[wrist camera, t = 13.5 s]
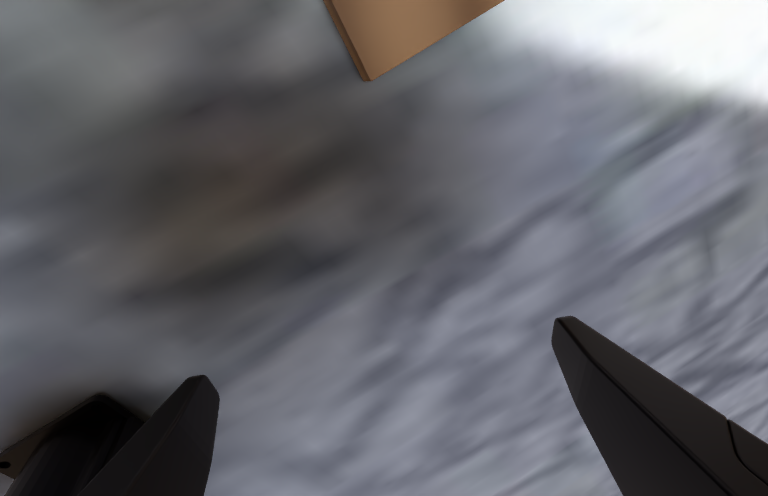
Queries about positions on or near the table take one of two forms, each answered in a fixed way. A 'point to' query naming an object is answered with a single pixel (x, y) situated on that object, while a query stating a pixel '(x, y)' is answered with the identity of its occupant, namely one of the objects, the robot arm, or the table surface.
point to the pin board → (397, 28)
